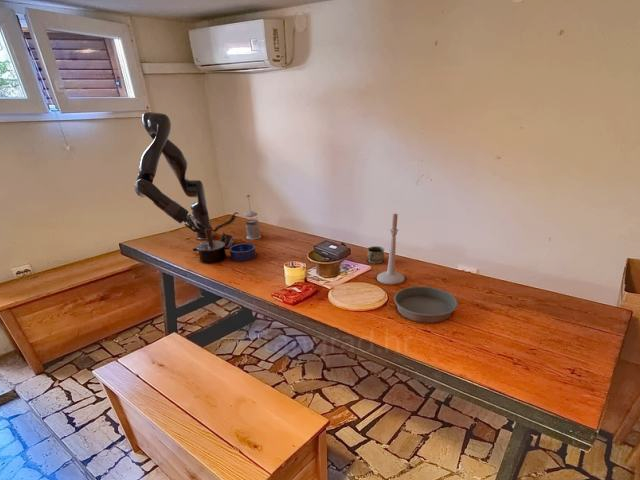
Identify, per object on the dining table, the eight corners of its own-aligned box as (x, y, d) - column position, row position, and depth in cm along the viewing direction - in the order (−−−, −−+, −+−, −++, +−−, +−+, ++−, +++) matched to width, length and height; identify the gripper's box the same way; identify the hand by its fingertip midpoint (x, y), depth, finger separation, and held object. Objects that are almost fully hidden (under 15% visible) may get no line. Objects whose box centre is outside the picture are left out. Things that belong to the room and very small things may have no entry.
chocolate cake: (229, 250, 211) (235, 231, 213) (217, 246, 210) (222, 227, 212) (231, 256, 220) (236, 238, 222) (219, 253, 219) (224, 234, 221)
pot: (198, 255, 204) (195, 242, 200) (233, 253, 205) (230, 241, 201) (192, 264, 192) (189, 251, 188) (229, 262, 193) (227, 249, 189)
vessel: (373, 255, 197) (374, 244, 193) (388, 258, 193) (389, 247, 189) (362, 262, 189) (362, 251, 185) (377, 266, 185) (377, 254, 181)
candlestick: (388, 286, 165) (393, 219, 148) (371, 277, 174) (374, 212, 157) (410, 280, 170) (417, 213, 153) (392, 271, 179) (397, 207, 162)
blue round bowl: (232, 252, 205) (231, 244, 203) (257, 251, 206) (256, 243, 203) (229, 261, 194) (227, 252, 191) (255, 260, 195) (253, 251, 192)
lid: (200, 243, 200) (196, 225, 195) (227, 242, 201) (223, 224, 196) (194, 252, 188) (189, 234, 183) (222, 251, 189) (219, 232, 184)
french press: (256, 233, 234) (250, 191, 220) (266, 237, 227) (261, 194, 213) (242, 237, 228) (236, 194, 214) (253, 241, 221) (246, 197, 207)
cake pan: (416, 331, 134) (417, 320, 131) (382, 302, 152) (382, 293, 150) (469, 316, 141) (471, 306, 139) (431, 291, 160) (432, 281, 158)
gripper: (179, 209, 175) (209, 230, 183) (181, 202, 186) (209, 222, 195) (170, 221, 176) (200, 242, 185) (173, 213, 188) (201, 233, 197)
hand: (205, 232), depth 190 cm, fingers open, 8 cm apart
